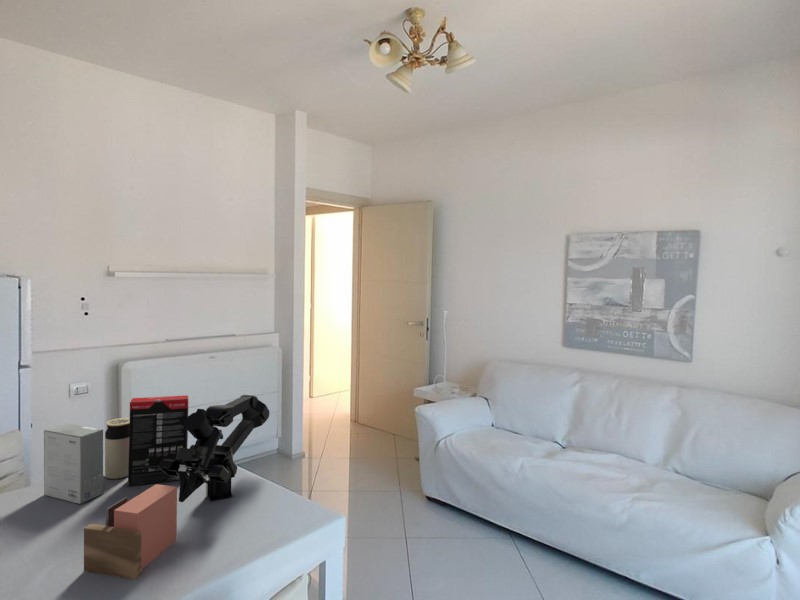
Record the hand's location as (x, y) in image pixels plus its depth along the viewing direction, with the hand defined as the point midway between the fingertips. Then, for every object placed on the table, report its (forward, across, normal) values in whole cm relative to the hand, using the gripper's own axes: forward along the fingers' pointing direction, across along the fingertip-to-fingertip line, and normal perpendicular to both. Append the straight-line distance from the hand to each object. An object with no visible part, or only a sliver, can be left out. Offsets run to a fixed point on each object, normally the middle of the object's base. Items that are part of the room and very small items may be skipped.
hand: (180, 501), depth 128 cm
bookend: (+17, -7, -7) cm, 19 cm away
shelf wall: (+20, -3, -10) cm, 22 cm away
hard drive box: (-1, -42, +11) cm, 43 cm away
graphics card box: (-12, -24, +22) cm, 35 cm away
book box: (+14, 0, -4) cm, 15 cm away
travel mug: (-12, -39, +22) cm, 47 cm away
